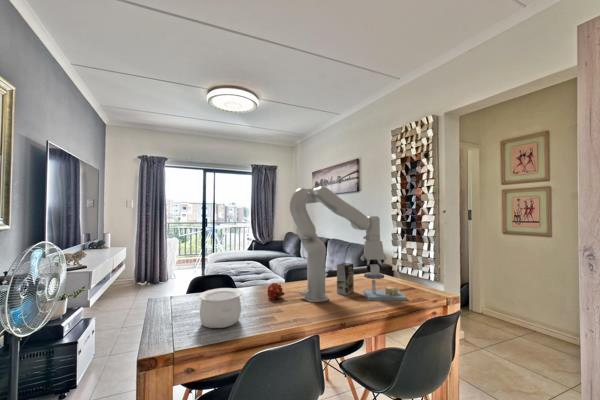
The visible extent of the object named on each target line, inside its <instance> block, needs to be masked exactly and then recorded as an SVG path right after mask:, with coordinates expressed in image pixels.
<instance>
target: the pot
mask: <svg viewBox="0 0 600 400" xmlns="http://www.w3.org/2000/svg"><path fill="white" fill-rule="evenodd" d="M242 294H243V292H242V290H240V289H238V288H232V287H219V288H213V289H207V290H205V291H203V292H201V293H200V294H199V295H198V298H199V299H200V300H201V302H200V307H199V318H200V319H199V320H200V322H201V325H202V326H204V327H206V328H210V329H223V328H228V327H231V326H233V325H235V324H236V323H238V322H239V320H240V317H241V313H242V304H241V299H240V297H241V296H242Z"/></svg>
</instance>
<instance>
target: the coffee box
mask: <svg viewBox="0 0 600 400" xmlns="http://www.w3.org/2000/svg"><path fill="white" fill-rule="evenodd" d="M354 278H355V276H354V263H349V262H344V263H340V264H336V294H339V295H342V296H343V295H344V296H348V295H350V294H351V293H352V294H353V293H354V291H355V288H354V286H355V285H354V284H355V283H354V282H355V281H354Z"/></svg>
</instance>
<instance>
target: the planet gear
mask: <svg viewBox="0 0 600 400" xmlns="http://www.w3.org/2000/svg"><path fill="white" fill-rule="evenodd" d="M363 277H364V278H366V279H368V280H369V279H372V280H381V279H385V274H383V273H381V270H380V269H379V266H378V265H377V264H370V272H365V273H364V274H363Z"/></svg>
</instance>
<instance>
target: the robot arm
mask: <svg viewBox="0 0 600 400" xmlns="http://www.w3.org/2000/svg"><path fill="white" fill-rule="evenodd" d="M316 203H320V204H322V205H323V206H324V207H325V208H327V209H328V210H329V211H331V212H332V213H333V214H335V215H337V216H340V217H342V218H344V219H345V220H347V221H349V222H350V225H351V227H352V228H353V229H355V230H358V231H359V230H360V231H365V236H363V237H362V238H363V239H364V247H363V254H362V255H361V256H360V260H361V261H363V262H364V263H365V265H366V271H367V273H369V272H370V265H371V264H370V262H371V261H374V260H375V261H377V264H376V265H378V266H379V269H380V271H382V265H383V263H384V262H385V261H386V260H387V259H388V257H387V256H386V254H385V252H384V246H383V245H384V244H383V241H382V240H381V227H380V226H381V225H380V217H379V216H378V215H376V216H375V215H368V216H366V215H365V214H364V213H363V212H362V211H360V210H359V209H358V208H356V207H354V206H352V205H351V204H350V203H348V202H346V201H345V200H343V199H342V198H341V197H339V196H338V195H337V194H336V193H335V192H333V191H332V190H331V189H329V188H328V187H327V186H324V185H321V186H317V187H313V188H305V187H299V188H297V189H295V191H294V192H293V193H292V196H291V198H290V201H289V212H290V214H291V217H292V219H293V221H294V224H295V227H296V232H297V233H296V234H297V236H298V238H299V239H300V241H301V243H302V245H303V248H304V250H305V251H306V253H307V260H306V261H307V262H306V263H307V265H306V266H307V268H306V269H307V271H306V272H307V273H306V274H307V275H306V276H307V277H306V278H307V281H306V282H307V288H306V290H298V294H299V295H301V296H304V300H305V301H307V302H310V303H325V302H327V301H328V300H329V296H328V295H327V294H326V255H327V254H326V253H327V248H326V245H325V243H324V242H323V241H322V240H321V239H319V237H318V234H317V233H316V231H317V230H316V225H315V224H314V223H313V221H312V219H311V217H310V215H309V212H308V210H307V204H316ZM299 295H298V296H299Z"/></svg>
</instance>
